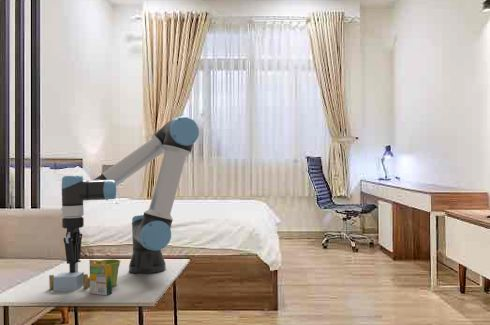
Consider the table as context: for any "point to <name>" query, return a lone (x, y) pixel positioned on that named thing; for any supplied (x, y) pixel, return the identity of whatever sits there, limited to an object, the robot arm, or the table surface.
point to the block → (68, 281)
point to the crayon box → (100, 278)
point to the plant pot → (112, 268)
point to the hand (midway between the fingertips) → (73, 280)
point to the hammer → (85, 281)
